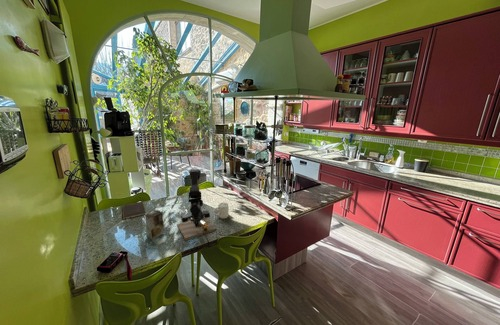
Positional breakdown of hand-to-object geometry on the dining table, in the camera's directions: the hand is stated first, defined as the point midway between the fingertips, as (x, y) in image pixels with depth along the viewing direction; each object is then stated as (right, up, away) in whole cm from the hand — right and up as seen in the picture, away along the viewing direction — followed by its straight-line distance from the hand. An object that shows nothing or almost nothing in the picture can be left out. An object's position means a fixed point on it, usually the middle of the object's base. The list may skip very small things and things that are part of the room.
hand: (196, 226), depth 143 cm
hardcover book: (-61, +4, +29) cm, 68 cm away
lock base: (-2, -3, +6) cm, 7 cm away
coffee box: (-27, -5, -3) cm, 28 cm away
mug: (+15, +1, +22) cm, 27 cm away
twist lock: (+2, -1, +6) cm, 7 cm away
